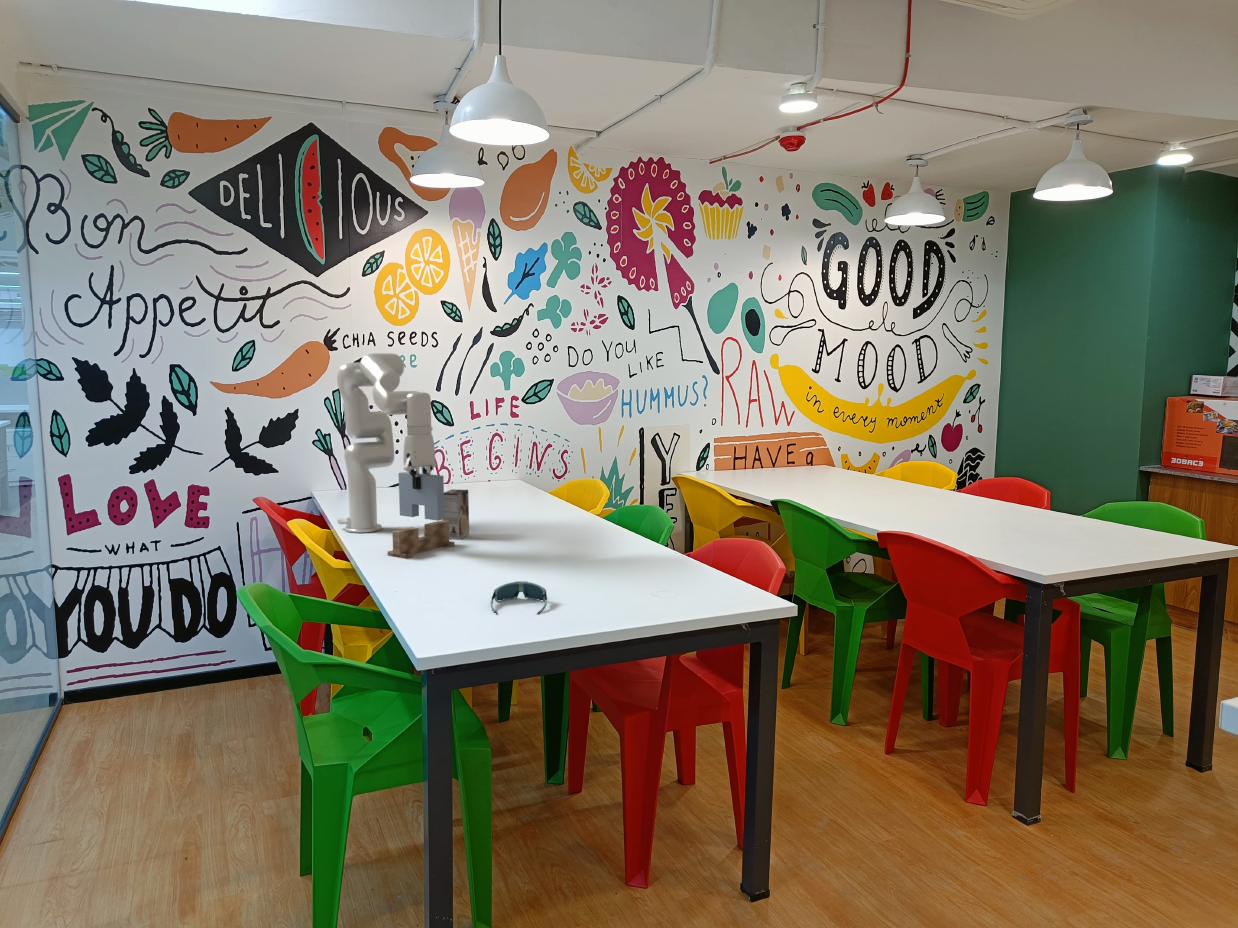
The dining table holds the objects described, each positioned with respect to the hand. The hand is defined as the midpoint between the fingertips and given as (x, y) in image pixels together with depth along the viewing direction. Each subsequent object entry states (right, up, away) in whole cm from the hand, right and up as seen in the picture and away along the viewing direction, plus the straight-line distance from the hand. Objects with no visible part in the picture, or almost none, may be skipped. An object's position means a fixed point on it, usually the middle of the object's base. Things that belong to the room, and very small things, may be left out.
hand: (421, 487), depth 274 cm
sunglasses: (+38, -29, -57) cm, 75 cm away
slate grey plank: (0, -10, +1) cm, 10 cm away
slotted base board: (0, -20, +3) cm, 21 cm away
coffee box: (+7, -18, +24) cm, 31 cm away
